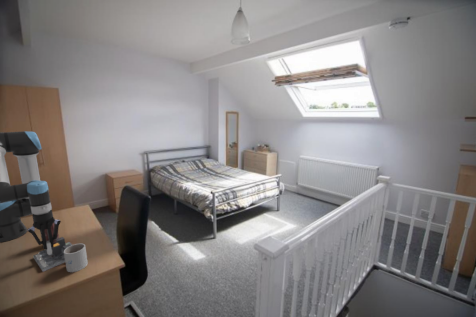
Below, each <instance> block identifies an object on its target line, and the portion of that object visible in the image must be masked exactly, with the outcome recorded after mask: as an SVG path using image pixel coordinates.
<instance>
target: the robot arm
mask: <svg viewBox="0 0 476 317" xmlns="http://www.w3.org/2000/svg"><path fill="white" fill-rule="evenodd" d="M42 149H43V148H42V144H41V142H40V139H39V136H38V135H37V133H36V132H35V131H26V130H24V131H7V132H5V131H3V132H2V131H0V243H3V242H8V241H12V240H15V239H17V238H20V237H22V236H24V235H25V234H27V232H28V233H30V234H31V235H32V236H33V238H34V239H35V241H36V243H37V244H38V245H39V246H41V245H42V248H43V249H44V250H46V249H47V254H48V255H51V254H52V249H51V247H53V246H54V245H53V240H55V239H57V235H58V234H59V227H60V224H61V223H62V221H61V220H60V219H56V218H55V217H54V214H53V210H52V209H53V207H52V203H51V198H50V191H49V186H48V182H47V181H46V180H41V176H40V170H39V164H38V158H37V156H38V155H39V153H40V150H42ZM6 153H12V155H13V156H14V157H16V158H17V162H18V163H17V165H18V169H19V173H20V178H21V179H20V180H21V183H19V184H14V185H11V182H10V177H9V172H8V166H7V162H6V158H5V156H6ZM27 216H32V220H33V224H32V226H31V227H28V228H27V227H26V225H25V223H24V222H23V221H22V219H21V218H23V217H27ZM53 223H55V225H54V232H53V237H52V232H51V226H52V225H53ZM36 229H37V230H39V232H40V237H41V238H39V236H38V235H37V233H36V232H35V231H36ZM45 229H47V234H48V239H49V241H47V242H46V237H45ZM40 239H41V240H40Z"/></svg>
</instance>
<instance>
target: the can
mask: <svg viewBox="0 0 476 317" xmlns="http://www.w3.org/2000/svg"><path fill="white" fill-rule="evenodd" d="M54 225H55V223H53V225H52V226H51V232H52V237H53V232H54ZM45 237H46V242H47V241H49V239H48V234H47V229H45ZM58 238H60V235H59V233H58V235H57V239H58ZM54 244H57V242H56V239H55V240H53V245H54Z"/></svg>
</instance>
